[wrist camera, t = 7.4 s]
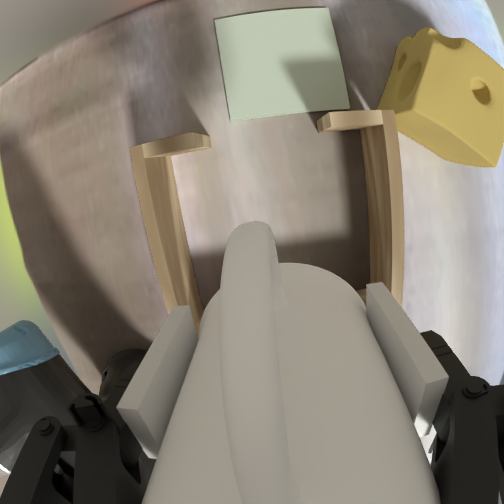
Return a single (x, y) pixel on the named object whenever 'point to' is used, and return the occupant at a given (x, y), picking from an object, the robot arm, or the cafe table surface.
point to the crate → (160, 151)
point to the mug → (288, 396)
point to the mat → (281, 63)
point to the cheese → (447, 97)
